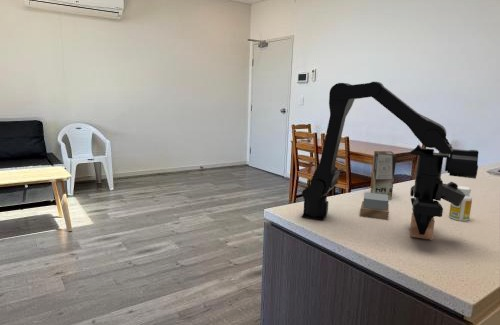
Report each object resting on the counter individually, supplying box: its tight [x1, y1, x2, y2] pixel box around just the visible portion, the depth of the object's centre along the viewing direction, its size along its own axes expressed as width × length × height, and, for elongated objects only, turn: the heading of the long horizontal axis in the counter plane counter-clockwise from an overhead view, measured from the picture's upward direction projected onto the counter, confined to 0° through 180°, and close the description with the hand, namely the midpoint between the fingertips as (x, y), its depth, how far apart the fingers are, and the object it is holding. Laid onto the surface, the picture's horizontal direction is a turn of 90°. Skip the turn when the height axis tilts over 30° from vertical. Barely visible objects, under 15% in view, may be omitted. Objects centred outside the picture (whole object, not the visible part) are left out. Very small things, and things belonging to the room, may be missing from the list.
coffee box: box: [370, 150, 397, 201], centre depth 129 cm, size 9×6×16 cm
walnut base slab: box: [359, 200, 390, 221], centre depth 110 cm, size 8×8×3 cm
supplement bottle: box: [448, 185, 473, 222], centre depth 108 cm, size 5×5×10 cm
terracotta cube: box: [409, 211, 435, 241], centre depth 93 cm, size 5×5×5 cm
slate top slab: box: [363, 192, 389, 211], centre depth 110 cm, size 7×7×3 cm
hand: (421, 230), depth 93 cm, fingers closed on terracotta cube, 5 cm apart
